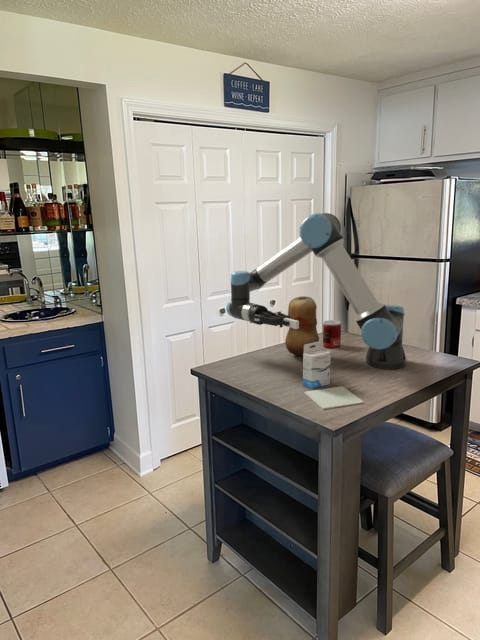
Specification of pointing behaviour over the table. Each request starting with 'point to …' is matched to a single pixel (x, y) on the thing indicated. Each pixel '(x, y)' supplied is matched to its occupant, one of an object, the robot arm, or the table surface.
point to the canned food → (331, 334)
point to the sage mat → (333, 397)
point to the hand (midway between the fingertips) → (297, 325)
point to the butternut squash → (302, 325)
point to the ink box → (316, 366)
